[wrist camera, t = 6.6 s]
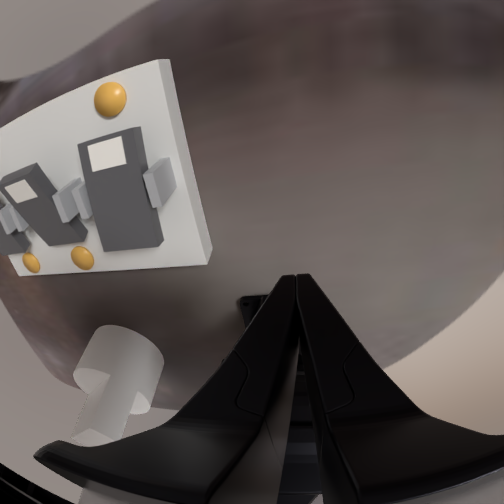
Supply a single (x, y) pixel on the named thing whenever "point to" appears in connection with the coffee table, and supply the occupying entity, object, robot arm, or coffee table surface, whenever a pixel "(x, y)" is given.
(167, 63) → the switch panel
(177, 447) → the robot arm
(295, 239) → the coffee table surface
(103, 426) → the cylinder with rectangular tab
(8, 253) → the switch
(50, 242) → the switch
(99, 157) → the switch
